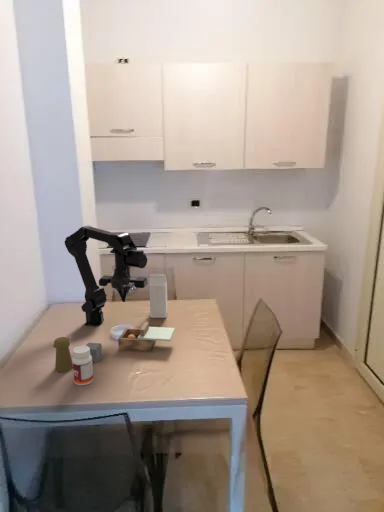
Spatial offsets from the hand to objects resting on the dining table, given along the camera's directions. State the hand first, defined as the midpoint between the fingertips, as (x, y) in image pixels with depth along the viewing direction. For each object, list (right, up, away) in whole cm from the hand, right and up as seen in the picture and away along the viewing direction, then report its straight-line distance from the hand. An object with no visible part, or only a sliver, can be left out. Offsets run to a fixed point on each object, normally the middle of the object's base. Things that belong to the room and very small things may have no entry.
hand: (124, 301), depth 167 cm
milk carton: (+13, -8, +19) cm, 25 cm away
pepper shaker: (-16, -20, -25) cm, 36 cm away
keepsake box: (+7, -15, -9) cm, 19 cm away
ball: (+4, -13, -9) cm, 17 cm away
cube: (-8, -18, -19) cm, 28 cm away
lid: (+14, -11, -12) cm, 21 cm away
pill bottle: (-8, -22, -33) cm, 41 cm away
